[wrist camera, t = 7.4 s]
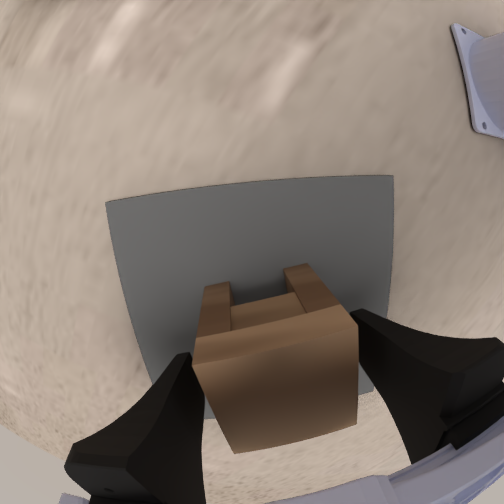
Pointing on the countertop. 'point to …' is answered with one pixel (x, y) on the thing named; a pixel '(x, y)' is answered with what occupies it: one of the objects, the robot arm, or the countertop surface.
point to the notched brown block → (278, 363)
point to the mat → (248, 251)
